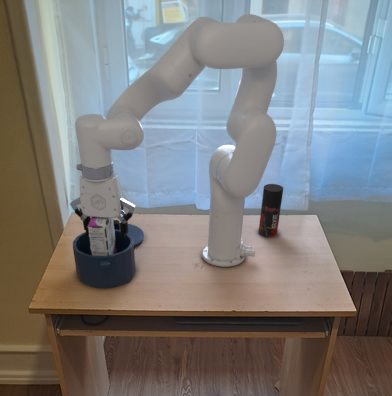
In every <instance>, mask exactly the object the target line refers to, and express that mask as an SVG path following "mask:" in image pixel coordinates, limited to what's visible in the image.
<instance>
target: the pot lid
mask: <svg viewBox="0 0 392 396" xmlns="http://www.w3.org/2000/svg"><path fill="white" fill-rule="evenodd" d="M113 220H114V229H117V230H120V223H121V221H120V220H119V219H113ZM128 234H129V235H130V236H131V237H132V238H133V242H134V247H136V246H138V245H140V244H141V243H142V242H143V240H144V239H145V233H144V231H143V229H142V228H141V227H138V226H136V225H134V224H131V223H128Z"/></svg>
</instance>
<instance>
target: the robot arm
mask: <svg viewBox="0 0 392 396" xmlns="http://www.w3.org/2000/svg"><path fill="white" fill-rule="evenodd" d="M284 46H285V37H284V33H283V31H282V29H281V28H280V26H279V25H278V24H277V23H275V22H274V21H272V20H270V19H268V18H267V19H266V18H264V17H262V16H259V15H257V14H251V13H247V14H243V15H241V16H239V17H238V18H237V19H236V20H235V22H222V21H218V20H216V19H213V18H211V17H208V16H199V17H196V18H194V19H193V20H192V21H191V22H189V24H188V25H187V26H186V27H185V28H184V30H183V31H182V32H181V33H180V34H179V35H178V37H176V39H175V40H174V41H173V42H172V44H171V45H170V46H169V47H168V48H167V49H166V51H165V52H164V53H163V54H162V56H161V57H160V58H159V59H158V60H157V61H156V62H155V63H154V65H152V67H150V68H149V69H147V70H146V71H145V72H143V74H141V76H139V77H137V78H136V79H135V80H134V81H133V82H132V83H130V84H129V86H128V87H126V89H125V90H124V91H123V92H122V93H121V94H120V95H119V96H118V97H117V99H116V100H115V101H114V103H112V104H111V106H110V107H109V109H108V111H107V112H106V116H105V115H102V114H98V113H86V114H83V115H80V116H78V117H77V118H76V120H75V121H74V126H75V127H74V128H75V134H76V139H77V145H78V153H79V159H80V163H78V164H76V170H77V171H81V175H80V176H79V197H77V198H75V199H73V200H71V202H70V203H69V205H70V207H71V208H72V210H73V211H74V213H75V214H76V215H77V217H79V218H80V221H82V225H83V230H84V231H85V232H86V235H89V233H88V224H89V222H90V220H91V217H103V218H113V219H117V220H119V221H120V230H121V237H122V238H124V237H125V235H126V234H127V233H128V224H129V222H128V221H130V219H131V218H132V217H133V215H134V213H135V211H136V209H137V205H136V204H134V203H133V202H131V201H128V200H126V199H125V198H123V193H122V188H121V185H120V181H119V178H118V175H117V173H115V170H114V163H113V155H112V150H113V151H132V150H135V149H138V147H140V146H141V145H142V144H143V141H144V137H145V131H144V128H143V126H142V124H141V121H142V119H143V118H144V117H145V116H146V115H147V114H148V113H149V112H150V111H151V110H152V109H154V108H155V107H156V106H157V105H159V104H161V103H165V102H168V101H173V100H176V99H178V98H180V97H181V96H182V95H183V94H184V93H185V92H186V91H187V90H188V88H189V87H190V86H191V85H192V84H193V83H194V82H195V80H196V79H197V78H198V77H199V76H200V75H201V74H202V73H203V71H204V70H205V69H206V68H208V69H212V70H213V69H214V70H238V69H239V70H240V69H241V73H240V79H239V83H238V86H237V90H236V94H235V97H234V99H233V101H232V102H233V103H232V106H231V108H230V111H229V114H228V117H227V120H226V126H225V127H226V133H227V135H228V136H229V137H230V139H231V140H232V141H233V142H234V143H235V145H233V144H224V145H220V146H219V147H217V148H216V149H215V150H214V151H213V152H212V154H211V156H210V159H209V162H208V175H209V176H208V177H209V178H208V179H209V216H208V217H209V218H208V236H207V237H208V240H207V246H206V247H204V248H203V250H202V252H201V253H202V258H203V260H204V261H205V262H206V263H208V264H209V265H212V266H216V267H223V268H229V267H235V266H238V265H240V264H241V263H243V262H244V261H245V258H246V256H247V257H255V256H256V249H253V246H252V245H245V244H243V243H244V242H243V239H242V234H243V223H244V211H245V203H246V198H248V197H249V196H251V195H252V194H253V193H254V192H255V191H256V190H257V188H258V187H259V185H260V183H261V181H262V178H263V177H264V173H265V171H266V169H267V166H268V163H269V161H270V158H271V156H272V154H273V150H274V147H275V145H276V141H277V126H276V123H275V121H274V119H273V118H272V117H271V116H270V115H269V114H268V110H269V107H270V104H271V102H272V97H273V94H274V92H275V88H276V84H277V78H278V64H277V60H278V59H279V58H280V56H281V54H282V53H283V50H284ZM79 205H80V206H79ZM125 208H126V209H127V210H128V212H127V213H126V211H124V209H125Z"/></svg>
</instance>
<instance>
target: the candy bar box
mask: <svg viewBox="0 0 392 396" xmlns="http://www.w3.org/2000/svg"><path fill="white" fill-rule="evenodd" d="M114 220H115V219H114V218H103V217H91V220H90V222H89V224H88V233H89V241H90V248H91V254H92V255H93V256H107V255H114V254H117V249H116V239H115V230H114Z"/></svg>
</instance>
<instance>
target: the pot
mask: <svg viewBox="0 0 392 396" xmlns="http://www.w3.org/2000/svg"><path fill="white" fill-rule="evenodd" d="M114 230H115V239H116V249H117V254H114V255H107V256H93V255H92V254H91V248H90V241H89V235H86V231H85V232H82V233H80V234H78V235H77V236H76V237H75V238H74V239H73V241H72V251H73V257H74V264H75V265H74V266H75V269H76V270H75V271H76V276H77V279H78V281H80V282H81V283H82V284H83V285H85V286H87V287H90V288H94V289H113V288H117V287H118V288H119V287H121V286H123V285H126V284H127V283H129V282H130V281H131V280H132V279H134V277H135V275H136V260H135V259H136V258H135V257H136V256H135V246H134V242H133V238H132V237H131V236H130V235H129V234H128V233H127V234H126V235H125V237H124V238H122V237H121V230H117V229H114Z"/></svg>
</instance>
